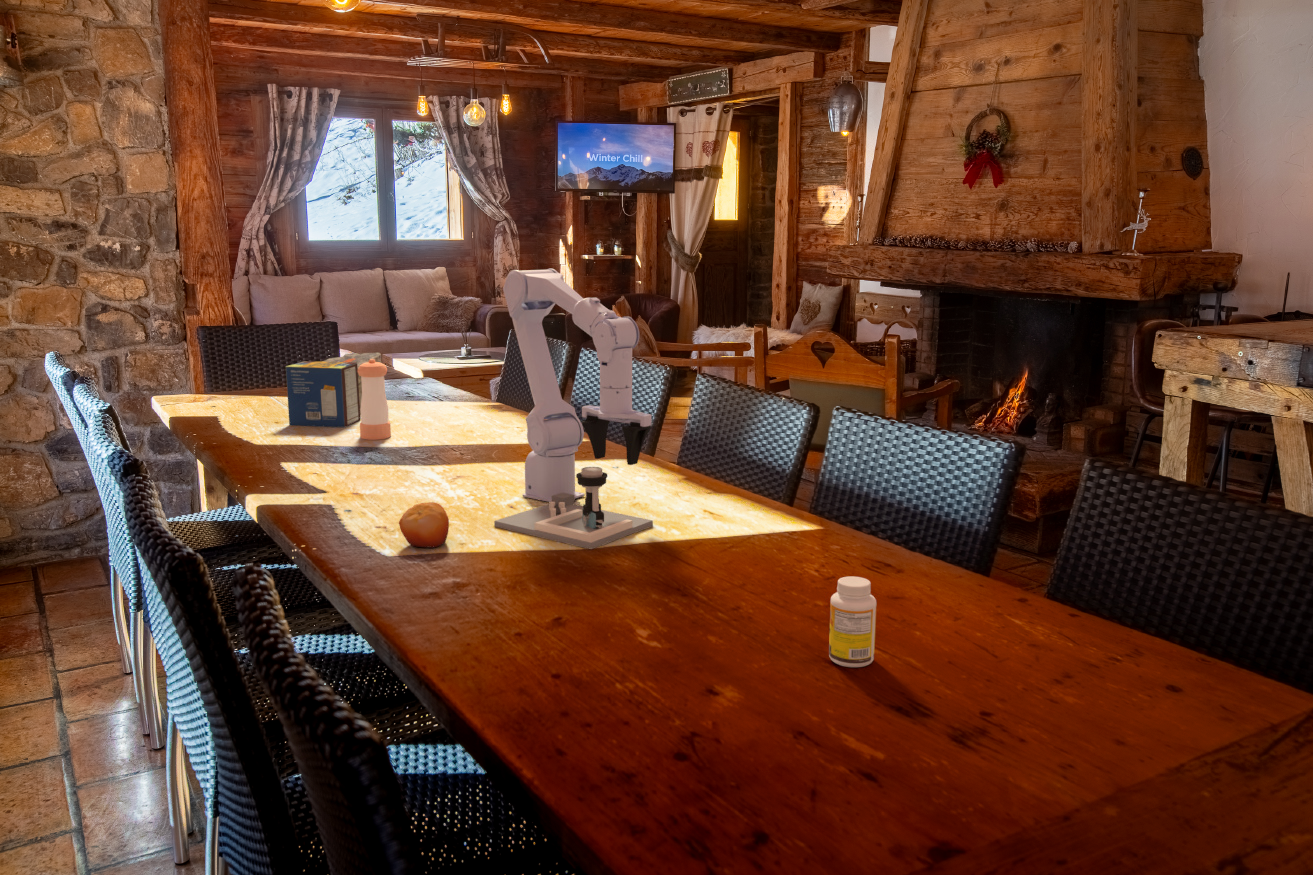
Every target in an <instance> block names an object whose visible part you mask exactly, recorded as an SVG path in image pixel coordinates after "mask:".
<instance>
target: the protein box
mask: <svg viewBox="0 0 1313 875" xmlns="http://www.w3.org/2000/svg"><path fill="white" fill-rule="evenodd" d="M357 371H358V366H357V362H322V361H310V360H309V361H306V360H305V361H304V360H303V361H300V362H297V363H293V364H290V365H286V366H285V376H286V390H287V407H288V408H287V409H288V423H289V424H288V425H289V426H296V427H298V426H299V427H320V428H321V427H326V428H346V427H348V426H350V425H352V424H354V423H356V422H359V421H361V411H360V409H361V408H360V400H359V385H358V372H357Z"/></svg>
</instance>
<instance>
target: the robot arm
mask: <svg viewBox="0 0 1313 875" xmlns="http://www.w3.org/2000/svg"><path fill="white" fill-rule="evenodd" d="M502 290H503V294H504V299H505V302H506V307H507V310H508V313H509V314H508V315H509V317H510V318H511V319H512V324H513V328H514V332H515V334H516V335H515V336H516V338H517V343H518V346H519V351H520V355H521V358H522V362H523V366H524V369H525V373H526V377H527V381H528V385H529V389H530V393H531V396H532V400H533V403H534V407H533V408H532V410H531V411H530V412H529V414H528V415H527V416H526V418H525V422H526V423H525V424H526V427H527V428H526V430H527V432H526V437H527V442H528V445H529V447H530V448H531V451H530V452H529V453H528V455H527V456H526V459H525V462H524V487H525V488H524V489H525V490H524V492H525V493H522V497H523V498H529V499H534V500H537V501H543V502H548V503H549V502H552V496H553V495H556V494H559V493H567V494H572V495H574V499H575V500H576V499H579V498H582V497H584V496H585V497H586V493H584V492H580V491H576V460H575V459H576V456H575V455H576V454H575V453H576V452H579V449H578V448H579V447H580V446H581V445H582V444H583V441H584V438H585V437H584V435H585V432H586V434H587V436H588V438H589V441H590V444H591V448H592V452H593V455H594V459H595V460H599V459H604V458H605V457H606V452H607V448H606V447H607V434H608V429H609V424H610V422H617V423H625V424H629V425H626V426H622V427H621V430H622V432H623V436H624V439H625V446H626V447H625V448H626V463H627V465H628V466H632V465H635V464H638V462H639V458H640V453H641V450H642V448H643V444H644V441H645V439H646V438H647V436H648V434H649V432H650V431H651V430H652V429H651V426H652V414H649V413H645V412H642V411H639V410H636V409H633V350H634V349H635V348H636V347H637V345H638V343H639V340H640V329H639V326H638V324H637V322H636V321H635V320H634V319H633V318H632V317H631V316H622V317H621V316H618V315H617V314H616V312H615V311H614V310H611V309H608V308H607V307H606V306H604V305H603V304H602V303H601V300H600V299H599V298H598V297H585V298H584V297H582V296H581V295H580V294H579V293H578V292H577V291H576V290H574V289H573V288H572V287H571V286H570V285H569V284H568V283H567V282H565V279H564V274H563V273H560V272H558V271H557V270H556V269H554V268H547V269H530V270H529V269H528V270H518V269H512V270H510V271H509V272H508V274H507V276H506V278H505V281H504V285H503V287H502ZM556 305H557V306H559V307H560V308H561V309H563V310H565V311H566V312H568V313H570V314H571V318H572V322H573V323H574V325H576V326H577V327H578V328H579V329H580V330H582V331H584V333H586V334H587V335H589V336H590V337H591V338H592V341H593V345H594V347H595V350H596V357H597V360H598V361H599V405H589V404H588V405H584V406H581V418H585V420H582V422H581V420H580V419H579V417H578V416H577V413H576V408H575V407H574V406H573V405H571V404H570V403H568V402H567V401H565V400H563V398H562V394H561V391H560V387H559V383H558V380H557V376H556V375H557V374H556V371H555V368H554V365H553V361H552V357H551V354H550V348H549V345H548V342H547V338H546V334H545V330H544V327H543V320H544V318H545V317H547V316H548V315H549V314H550V313H551V311H552V310H553V308H554V306H556ZM584 430H585V431H584Z"/></svg>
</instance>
